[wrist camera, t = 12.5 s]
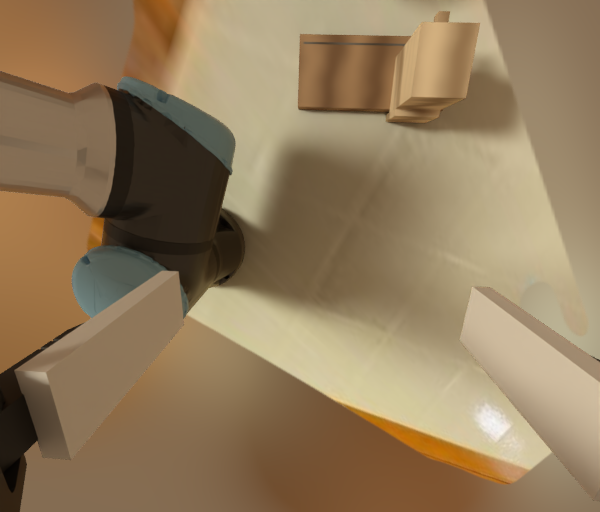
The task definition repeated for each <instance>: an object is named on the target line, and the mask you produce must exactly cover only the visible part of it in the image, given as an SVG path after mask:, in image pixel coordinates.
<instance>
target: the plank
mask: <svg viewBox="0 0 600 512" xmlns="http://www.w3.org/2000/svg"><path fill="white" fill-rule="evenodd" d="M410 38H411V36H366V35H312V34H300V55H299V90H298V108H299V109H304V110H339V111H374V112H389V111H390V103H391V94H392V86H393V77H394V69H395V60H396V57H397V55H398V54H399V53H400V51H401V50H402V48H403V47H404V46H405V44H406V43H407V42H408V40H409V39H410ZM442 110H443V109H441V110H440V112H441V111H442Z"/></svg>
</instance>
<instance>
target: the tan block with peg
mask: <svg viewBox="0 0 600 512" xmlns="http://www.w3.org/2000/svg"><path fill="white" fill-rule="evenodd" d="M449 14H450V12H444V11H439V12H438V13H437V15H436V16H435V17H434V22H422V23H421V24H420V25H419V27H418V28H417V29H416V31H415V32H414V33H413V35H412V36H411V38H410V39H409V40H408V42H407V43H406V44H405V46H404V47H403V48H402V50H401V51H400V53H399V54H398V55H397V57H396V60H395V69H394V77H393V86H392V94H391V103H390V111H389V113H388V114H387V115H386V122H414V123H426V122H429V121H431V120H434V119H436V118H439V116H440V110H441V109H443V108H446V107H448V106H450V105H452V104H454V103H456V102H459V101H461V100H463V99H465V98H466V95H467V90H468V84H469V79H470V74H471V69H472V63H473V58H474V53H475V47H476V42H477V37H478V32H479V26H480V23H448V21H449Z"/></svg>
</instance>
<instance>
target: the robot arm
mask: <svg viewBox="0 0 600 512" xmlns="http://www.w3.org/2000/svg"><path fill="white" fill-rule="evenodd" d="M235 146H236V145H235V138H234V136H233V134H232V132H231V131H230V130H229V128H228V127H226V126H225V125H224V124H223V123H221V122H220V121H218V120H217V119H215V118H214V117H212V116H211V115H209V114H207V113H205V112H204V111H202V110H200V109H198V108H197V107H195V106H193V105H191V104H189V103H187V102H185V101H184V100H182V99H179V98H177V97H175V96H173V95H170V94H167V93H166V92H164V91H162V90H160V89H158V88H156V87H154V86H153V85H150V84H148V83H146V82H143V81H141V80H138V79H135V78H132V77H123V78H122V79H121V81H120V82H119V83H118V85H117V90H115V89H113V88H110V87H107V86H105V85H102V84H99V83H93V84H90V85H88V86H86V87H84V88H82V89H80V90H78V91H76V92H73V93H67V92H64V91H61V90H57V89H54V88H51V87H48V86H45V85H41V84H39V83H36V82H33V81H30V80H26V79H24V78H20V77H17V76H14V75H11V74H8V73H5V72H2V71H0V191H7V192H16V193H17V192H18V193H26V194H36V195H45V196H55V197H64V198H66V199H68V200H70V201H71V202H73V203H74V204H75V205H76V206H77V207H78V208H79V209H81V210H82V211H83V212H84V213H85V214H86V215H88V216H91V217H100V218H105V219H104V227H103V236H102V244H101V246H99V247H95V248H93V249H91V250H89V251H88V252H87V253H86V254H85V255H84V256H83V257H82V258H81V259H80V260H79V261H78V262H77V264H76V265H75V267H74V270H73V274H72V287H73V291H74V295H75V297H76V300H77V302H78V303H79V305H80V306H81V308H82V309H83V311H84V312H85V313H86V314H88V315H89V316H90V317H91V319H90V320H88V321H87V322H85V323H83V324H80V325H78V326H76V327H73V328H71V329H69V330H67V331H65V332H64V333H62V334H61V335H59V336H58V337H56V338H55V339H53V341H50V342H49V343H47V344H45V345H44V346H43V347H41V349H40V350H39V349H38V350H36V351H35V352H33V353H32V354H30V355H29V356H27V357H26V358H24V359H23V360H21V361H20V362H18V363H17V364H15V365H13V366H12V367H11V368H9V369H7V370H6V371H4V372H3V373H1V374H0V512H20V505H21V499H22V493H23V485H24V480H25V472H26V466H27V463H26V459H25V456H24V453H25V452H26V451H27V450H28V449H29V448H30V447H31V446H32V445H33V444H34V443H35V442H36V441H38V444H39V447H40V451H41V454H42V457H43V458H53V459H65V460H71V459H72V458H73V457H74V456H75V455H76V454H77V452H78V451H79V450H80V449H81V448H82V446H83V445H84V444H85V443H86V442H87V440H88V439H89V438H90V437H91V436H92V434H93V433H94V432H95V431H96V430H97V428H98V427H99V426H100V425H101V424H102V422H103V421H104V420H105V419H106V417H107V416H108V415H109V414H110V413H111V412H112V410H113V409H114V408H115V407H116V405H117V404H118V403H119V402H120V401H121V400H122V398H123V397H124V396H125V395H126V394H127V392H128V391H129V390H130V389H131V387H132V386H133V385H134V384H135V383H136V382H137V380H138V379H139V378H140V377H141V376H142V374H143V373H144V372H145V371H146V370H147V368H148V367H149V366H150V365H151V363H152V362H153V361H154V360H155V359H156V358H157V356H158V355H159V354H160V353H161V351H162V350H163V349H164V348H165V347H166V346H167V344H168V343H169V342H170V340H172V338H173V337H174V336H175V335H176V334H177V332H178V331H179V330H180V329H181V328H182V326H183V325H184V320H183V319H184V317H185V316H186V314H187V313H188V312H189V310H190V309H191V308H192V307H193V306H194V305H195V303H196V302H197V301H198V300H199V299H200V298H201V296H202V295H203V294H204V293H205V292H206V291H207V289H208V288H211V287H215V286H218V285H221V284H223V283H224V282H226V281H227V280H229V279H230V278H231V277H232V276H233V275H234V274H235V272H236V271H237V270H238V268H239V267H240V265H241V263H242V261H243V257H244V252H245V244H244V238H243V235H242V232H241V230H240V228H239V226H238V224H237V223H236V222H235V220H234V219H233V218H232V217H231V216H230V215H229V214H228V213H226V212H225V211H224V210H222V209H221V208H222V204H223V200H224V196H225V191H226V187H227V183H228V179H229V175H232V162H233V157H234V152H235ZM459 341H460V342H461V343H462V344H463V346H464V347H465V348H466V349H467V350H468V351H469V353H470V354H471V355H472V356H473V357H474V359H475V360H476V361H477V362H478V363H479V365H480V366H481V367H482V368H483V369H484V371H485V372H486V373H487V374H488V375H489V377H490V378H491V379H492V380H493V381H494V383H495V384H496V385H497V386H498V387H499V389H500V390H501V391H502V392H503V393H504V395H505V396H506V397H507V398H508V399H509V401H510V402H511V403H512V404H513V405H514V407H515V408H516V409H517V410H518V411H519V413H520V414H521V415H522V416H523V417H524V418H525V420H526V421H527V422H528V423H529V424H530V426H531V427H532V428H533V429H534V430H535V432H536V433H537V434H538V435H539V436H540V438H541V439H542V440H543V441H544V442H545V444H546V445H547V446H548V447H549V448H550V450H551V451H552V452H553V453H554V454H555V455H556V457H557V458H558V459H559V460H560V462H561V463H562V464H563V465H564V466H565V468H566V469H567V470H568V471H569V472H570V474H571V475H572V476H573V477H574V478H575V480H576V481H577V482H578V483H579V484H580V485H581V487H582V488H583V489H584V490H585V491H586V493H587V494H588V495H589V496H590V497H591V499H592V500H593V501H600V360H599V359H596V358H594V357H592V356H590V355H589V354H587V353H586V352H584V351H583V350H581V349H580V348H578V347H577V346H575V345H574V344H572V343H571V342H570V341H568V340H567V339H565V338H564V337H562V336H561V335H559V334H558V333H556V332H555V331H553V330H552V329H550V328H549V327H548V326H546V325H545V324H543V323H542V322H540V321H539V320H537V319H536V318H534V317H533V316H531V315H530V314H528V313H527V312H526V311H524V310H523V309H521V308H520V307H518V306H517V305H515V304H514V303H512V302H511V301H509V300H508V299H507V298H505V297H504V296H502V295H501V294H499V293H498V292H496V291H495V290H493V289H492V288H490V287H473V286H472V290H471V294H470V298H469V303H468V307H467V311H466V315H465V319H464V324H463V328H462V332H461V336H460V340H459Z"/></svg>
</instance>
